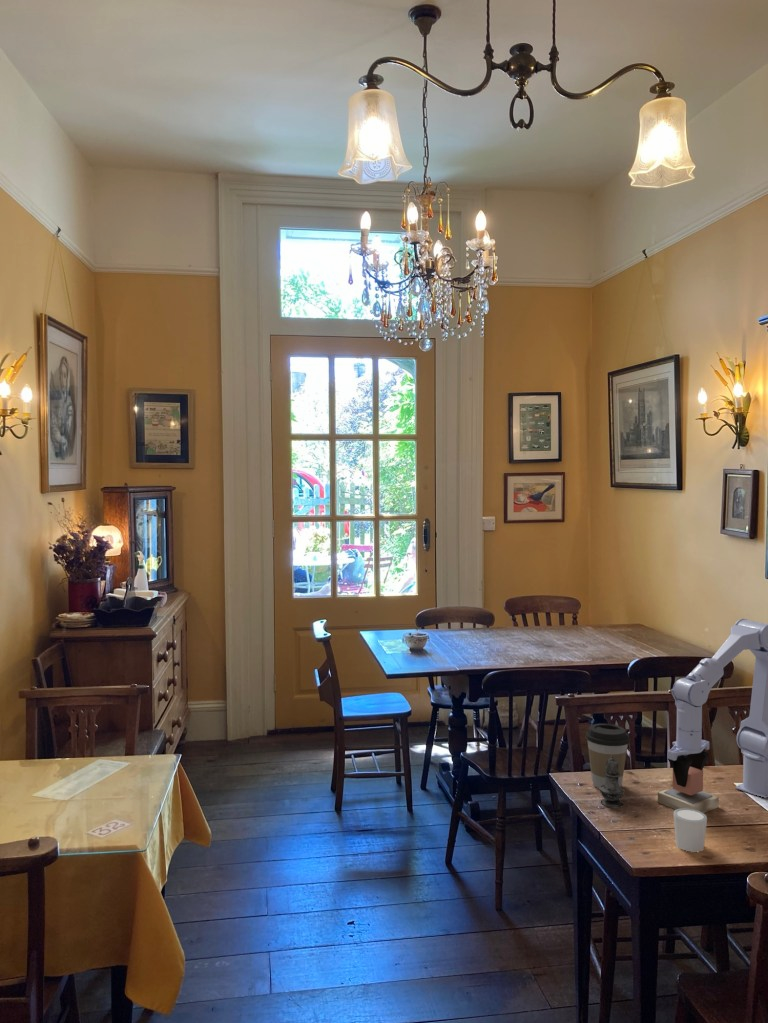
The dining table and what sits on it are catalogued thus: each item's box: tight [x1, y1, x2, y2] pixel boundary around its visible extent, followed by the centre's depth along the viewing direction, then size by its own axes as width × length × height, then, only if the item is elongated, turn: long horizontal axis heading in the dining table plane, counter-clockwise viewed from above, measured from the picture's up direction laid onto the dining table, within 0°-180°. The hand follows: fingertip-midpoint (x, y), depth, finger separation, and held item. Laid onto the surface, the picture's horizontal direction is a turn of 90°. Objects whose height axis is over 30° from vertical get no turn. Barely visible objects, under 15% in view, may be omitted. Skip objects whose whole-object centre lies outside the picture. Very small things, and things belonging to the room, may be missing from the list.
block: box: [672, 766, 704, 795], centre depth 183 cm, size 5×5×5 cm
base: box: [657, 786, 720, 814], centre depth 183 cm, size 10×10×3 cm
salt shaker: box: [599, 755, 625, 809], centre depth 184 cm, size 6×6×12 cm
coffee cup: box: [584, 723, 631, 790], centre depth 195 cm, size 11×11×15 cm
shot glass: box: [673, 809, 708, 853], centre depth 162 cm, size 7×7×7 cm
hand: (688, 783), depth 183 cm, fingers closed on block, 5 cm apart
